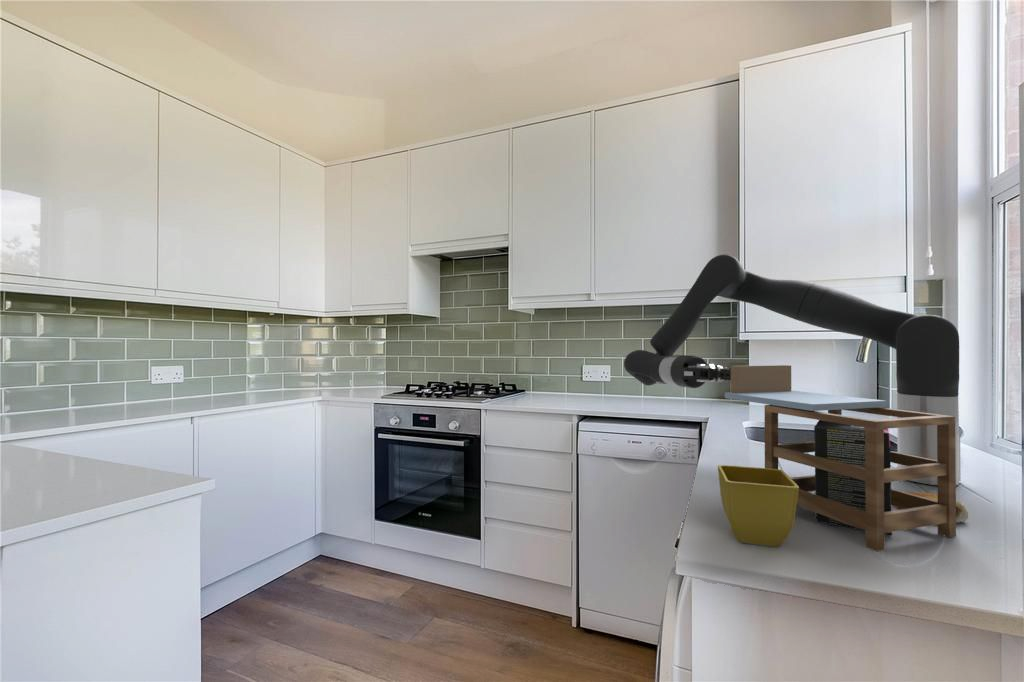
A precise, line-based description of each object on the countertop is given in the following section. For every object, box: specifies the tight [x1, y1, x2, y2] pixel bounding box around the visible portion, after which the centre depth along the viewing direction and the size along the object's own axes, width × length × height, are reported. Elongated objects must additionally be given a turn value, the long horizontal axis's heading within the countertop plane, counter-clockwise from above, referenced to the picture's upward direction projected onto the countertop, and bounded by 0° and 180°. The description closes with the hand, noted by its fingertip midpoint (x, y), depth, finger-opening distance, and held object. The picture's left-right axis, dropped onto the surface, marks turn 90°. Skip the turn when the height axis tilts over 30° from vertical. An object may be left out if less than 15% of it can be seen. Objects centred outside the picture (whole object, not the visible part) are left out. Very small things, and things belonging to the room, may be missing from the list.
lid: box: [724, 364, 888, 412], centre depth 80 cm, size 16×18×6 cm
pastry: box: [906, 491, 969, 524], centre depth 74 cm, size 9×7×4 cm
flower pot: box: [717, 464, 799, 548], centre depth 64 cm, size 9×9×9 cm
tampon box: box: [813, 420, 893, 537], centre depth 71 cm, size 11×9×15 cm
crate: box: [764, 404, 957, 552], centre depth 71 cm, size 16×18×17 cm
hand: (738, 375), depth 93 cm, fingers closed
